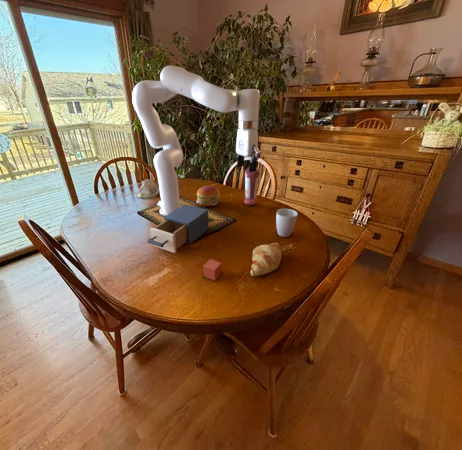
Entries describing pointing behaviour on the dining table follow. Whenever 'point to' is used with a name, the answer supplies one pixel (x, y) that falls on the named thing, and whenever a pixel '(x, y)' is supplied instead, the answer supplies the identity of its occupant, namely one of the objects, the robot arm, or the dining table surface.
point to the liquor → (251, 186)
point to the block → (212, 269)
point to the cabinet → (191, 220)
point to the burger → (208, 196)
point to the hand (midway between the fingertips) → (246, 168)
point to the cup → (285, 221)
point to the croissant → (266, 258)
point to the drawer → (169, 235)
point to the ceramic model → (148, 189)
